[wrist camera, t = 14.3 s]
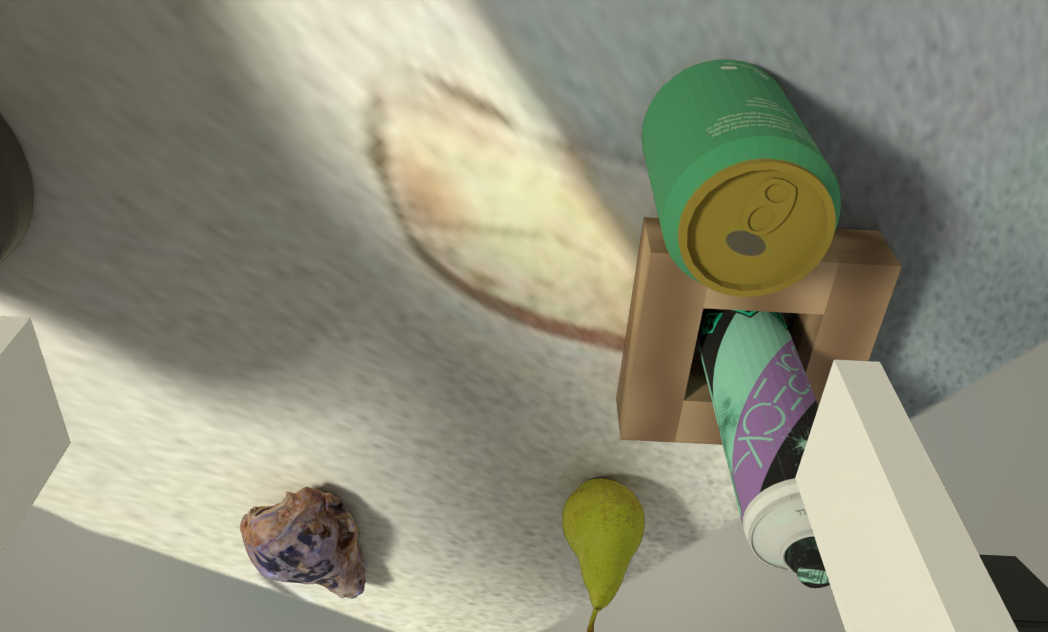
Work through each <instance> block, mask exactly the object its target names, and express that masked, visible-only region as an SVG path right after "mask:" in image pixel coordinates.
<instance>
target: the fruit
mask: <svg viewBox="0 0 1048 632" xmlns="http://www.w3.org/2000/svg"><path fill="white" fill-rule="evenodd" d="M562 526H563V531H564V534H565V537H566V539H567V541H568V543H569V545H570V547H571V549H572V550H573V551H574V552H575V554H576V556H577V557H578V560H579V563H580V568H581V573H582V577H583V580H584V583H585V585H586V587H587V589H588V592H589V595H590V600H591V603H592V605H593V607H594V609H593V612H592V616H591V619H590V622H589V626H588V628H587V632H594V621H595V618H596V615H597V613H598V611H599V610H601V609H602V608H604V607H606V606H607V605H608V604H609V603H610V602H611V600H612V599H613V598H614V596H615V595H616V593H617V591H618V589H619V587H620V585H621V583H622V581H623V578H624V575H625V572H626V570H627V567H628V565H629V562H630V560H631V558H632V556H633V555H634V553H635V552H636V550H637V549H638V547H639V545H640V543H641V540H642V537H643V533H644V526H645V521H644V512H643V508H642V506H641V504H640V502H639V500H638V498H637V497H636V496H635V495H634V493H633V492H632V491H630V490H629V489H628V488H627V487H625V486H624V485H622V484H620V483H618V482H616V481H613V480H610V479H604V478H595V479H590V480H588V481H586V482H585V483H583V484H582V485H581V486H580V487H579V488H578V489H577V490H575V491H574V492H573V493H572V494H571V495H570V497H569V498H568V499H567V501H566V503H565V506H564V509H563V513H562Z"/></svg>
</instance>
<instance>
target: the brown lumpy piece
mask: <svg viewBox="0 0 1048 632" xmlns="http://www.w3.org/2000/svg"><path fill="white" fill-rule="evenodd" d="M339 520H341V521H342V522H343V523H345V524H347V529H345V528H342V529H340V531H339V524H338V523H339ZM240 531H241V533H242V537H243V542H244V545H245V548H246V551H247V554H248V556H249V558H250V560H251V561H252V563H253V565H254V566H255V567H256V568H257V570H258V571H259V573H260V574H261V575H262V576H264V577H266V578H268V579H272V580H277V581H281V582H293V583H302V584H319V585H322V586H324V587H326V588H327V589H328V590H329V591H331V592H333V593H335V594H337V595H338V596H339V597H340V598H344V597H348V598H351V599H352V598H356V597H357V596H358V595H360V594H362V593H363V591H364V586H365V582H366V580H365V576H364V575H365V572H366V568H367V563H366V562H365V563H364V566H362V548H361V547H360V546H359V544H358V541H357V539H358V536H359V527H358V526H357V525H356V523H355V521H354V520H353V518H352V516H351V514H350V513H349V512H348V511H347V510H346V509H344V508H343V502H342V500H341V499H339V498H336V497H335V496H334V495H333V494H332V493H324V492H321V491H319V490H317V489H312V488H309V487H305V488H303V489H301V490H299V491H298V492H297V493H291V492H286V498H285V499H284V501H283V502H281V503H280V504H277V505H275V506H261V507H253V508H252V509H250V510H249V512H248V514H245V515H244V516H243V518H242V521H241V524H240Z"/></svg>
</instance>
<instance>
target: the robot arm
mask: <svg viewBox="0 0 1048 632" xmlns="http://www.w3.org/2000/svg"><path fill="white" fill-rule="evenodd" d="M32 207H33V189H32V182H31V177H30V173H29V169H28V166H27V163H26V160H25V158H24V155H23V153H22V150H21V148H20V146H19V144H18V142H17V140H16V139H15V137H14V135H13V133H12V132H11V130H10V129H9V127H8V126H7V124H6V123H5V121H4V120H3V119H2V117H1V116H0V263H1V262H2V261H3V260H4V259H5V258H6V257H7V256H8V255H9V253H10V252H11V251H12V250H13V249H14V248H15V247H16V246H17V245H18V243H19V242H20V241H21V239H22V238H23V236H24V234H25V232H26V230H27V228H28V225H29V222H30V219H31V214H32ZM70 443H71V442H70V439H69V436H68V433H67V430H66V427H65V423H64V420H63V417H62V414H61V411H60V408H59V405H58V402H57V399H56V396H55V392H54V389H53V386H52V383H51V380H50V377H49V374H48V371H47V368H46V365H45V361H44V358H43V355H42V352H41V349H40V346H39V343H38V340H37V337H36V334H35V330H34V327H33V324H32V321H31V318H30V317H11V316H0V556H1V554H2V553H3V551H4V549H5V548H6V546H7V545H8V543H9V541H10V540H11V538H12V536H13V535H14V533H15V532H16V530H17V528H18V527H19V525H20V524H21V522H22V520H23V519H24V517H25V516H26V514H27V512H28V511H29V509H30V508H31V506H32V504H33V503H34V501H35V499H36V498H37V496H38V495H39V493H40V491H41V490H42V488H43V487H44V485H45V483H46V482H47V480H48V479H49V477H50V475H51V474H52V472H53V470H54V469H55V467H56V466H57V464H58V462H59V461H60V459H61V458H62V456H63V454H64V453H65V451H66V450H67V448H68V446H69V445H70ZM795 479H796V482H797V485H798V488H799V491H800V494H801V497H802V500H803V503H804V506H805V509H806V512H807V515H808V519H809V522H810V525H811V528H812V531H813V534H814V537H815V540H816V543H817V546H818V549H819V552H820V555H821V558H822V561H823V564H824V567H825V570H826V573H827V576H828V579H829V582H830V585H831V588H832V591H833V594H834V597H835V600H836V604H837V607H838V610H839V613H840V615H841V618H842V622H843V625H844V628H845V631H846V632H1048V588H1047V587H1046V586H1045V585H1044V584H1043V583H1042V582H1041V581H1040V580H1039V579H1038V578H1037V577H1036V576H1035V575H1034V574H1033V573H1032V572H1031V571H1030V570H1029V569H1028V568H1027V567H1026V566H1025V565H1024V564H1023V563H1022V562H1021V561H1020V560H1019V559H1018V558H1017V557H1015V556H997V555H979V554H978V553H977V550H976V549H975V547H974V544H973V543H972V541H971V539H970V537H969V535H968V533H967V531H966V529H965V527H964V525H963V523H962V521H961V519H960V517H959V516H958V513H957V511H956V510H955V507H954V505H953V504H952V502H951V500H950V498H949V496H948V494H947V492H946V490H945V488H944V486H943V484H942V482H941V480H940V478H939V476H938V474H937V472H936V470H935V468H934V467H933V465H932V463H931V461H930V459H929V457H928V455H927V453H926V451H925V449H924V447H923V445H922V443H921V441H920V439H919V437H918V435H917V434H916V431H915V429H914V427H913V426H912V424H911V422H910V420H909V418H908V416H907V414H906V412H905V410H904V408H903V406H902V404H901V402H900V400H899V398H898V396H897V394H896V392H895V390H894V388H893V387H892V385H891V383H890V381H889V379H888V377H887V375H886V373H885V371H884V369H883V367H882V365H881V363H880V362H871V361H852V360H834V361H833V364H832V367H831V370H830V373H829V377H828V380H827V383H826V386H825V389H824V392H823V395H822V398H821V401H820V404H819V407H818V410H817V413H816V416H815V419H814V422H813V426H812V429H811V432H810V435H809V438H808V441H807V444H806V447H805V450H804V453H803V456H802V459H801V462H800V465H799V468H798V471H797V475H796V478H795Z"/></svg>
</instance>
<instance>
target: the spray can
mask: <svg viewBox="0 0 1048 632" xmlns="http://www.w3.org/2000/svg"><path fill="white" fill-rule="evenodd" d="M697 343H698V347H699V351H700V355H701V359H702V363H703V367H704V371H705V375H706V379H707V383H708V387H709V391H710V395H711V399H712V403H713V408H714V412H715V416H716V420H717V424H718V428H719V432H720V436H721V440H722V444H723V448H724V452H725V456H726V460H727V464H728V468H729V472H730V476H731V480H732V484H733V488H734V492H735V496H736V500H737V504H738V508H739V512H740V516H741V520H742V524H743V528H744V532H745V536H746V539H747V540H748V542H749V543H750V547H751V550H752V552H753V553H754V555H755V556H756V557H757V558H758V559H759V560H760V561H761V562H762V563H764V564H766V565H768V566H770V567H773V568H775V569H779V570H783V571H793V572H795V573H797V576H798V578H799V580H800V581H801V582H802V583H803V584H804V585H806V586H808V587H810V588H821V587H825V586H828V585H830V582H829V579H828V576H827V573H826V570H825V567H824V564H823V561H822V558H821V555H820V552H819V549H818V546H817V543H816V540H815V537H814V534H813V531H812V528H811V525H810V522H809V519H808V515H807V512H806V509H805V506H804V503H803V500H802V497H801V494H800V491H799V488H798V485H797V482H796V479H795V478H796V475H797V471H798V468H799V465H800V462H801V459H802V456H803V453H804V450H805V447H806V444H807V441H808V438H809V435H810V432H811V429H812V426H813V422H814V419H815V416H816V413H817V410H818V407H819V406H818V403H817V401H816V398H815V396H814V393H813V391H812V388H811V386H810V383H809V381H808V378H807V376H806V373H805V371H804V368H803V366H802V363H801V361H800V358H799V355H798V353H797V350H796V348H795V345H794V343H793V340H792V338H791V335H790V333H789V330H788V328H787V325H786V323H785V320H784V318H783V315H782V313H781V312H766V311H747V310H728V309H709V308H703V311H702V316H701V321H700V325H699V330H698V335H697Z"/></svg>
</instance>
